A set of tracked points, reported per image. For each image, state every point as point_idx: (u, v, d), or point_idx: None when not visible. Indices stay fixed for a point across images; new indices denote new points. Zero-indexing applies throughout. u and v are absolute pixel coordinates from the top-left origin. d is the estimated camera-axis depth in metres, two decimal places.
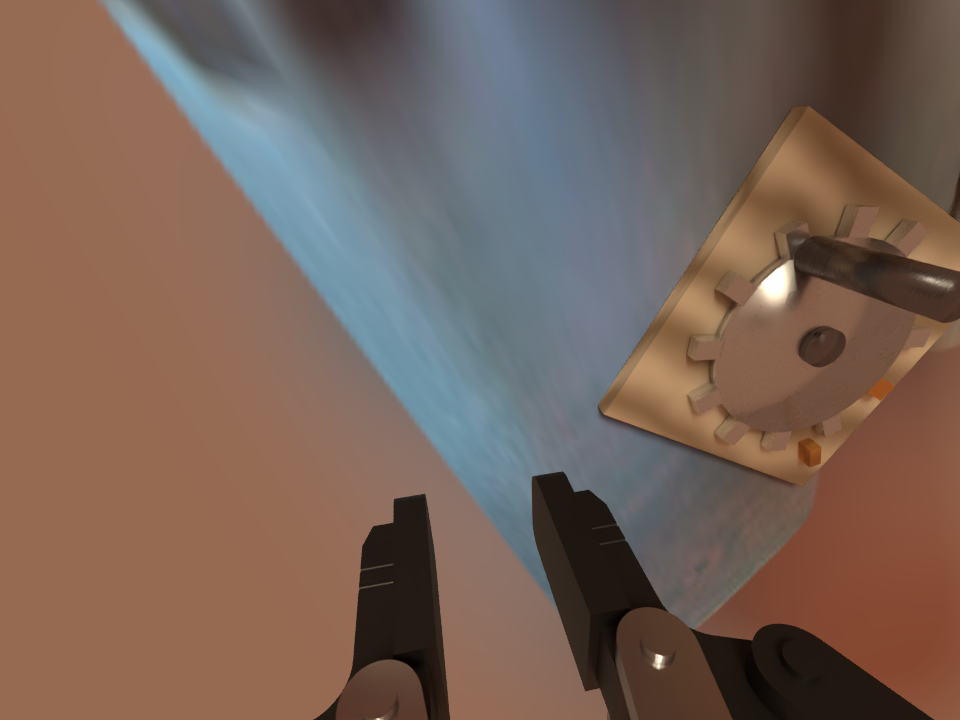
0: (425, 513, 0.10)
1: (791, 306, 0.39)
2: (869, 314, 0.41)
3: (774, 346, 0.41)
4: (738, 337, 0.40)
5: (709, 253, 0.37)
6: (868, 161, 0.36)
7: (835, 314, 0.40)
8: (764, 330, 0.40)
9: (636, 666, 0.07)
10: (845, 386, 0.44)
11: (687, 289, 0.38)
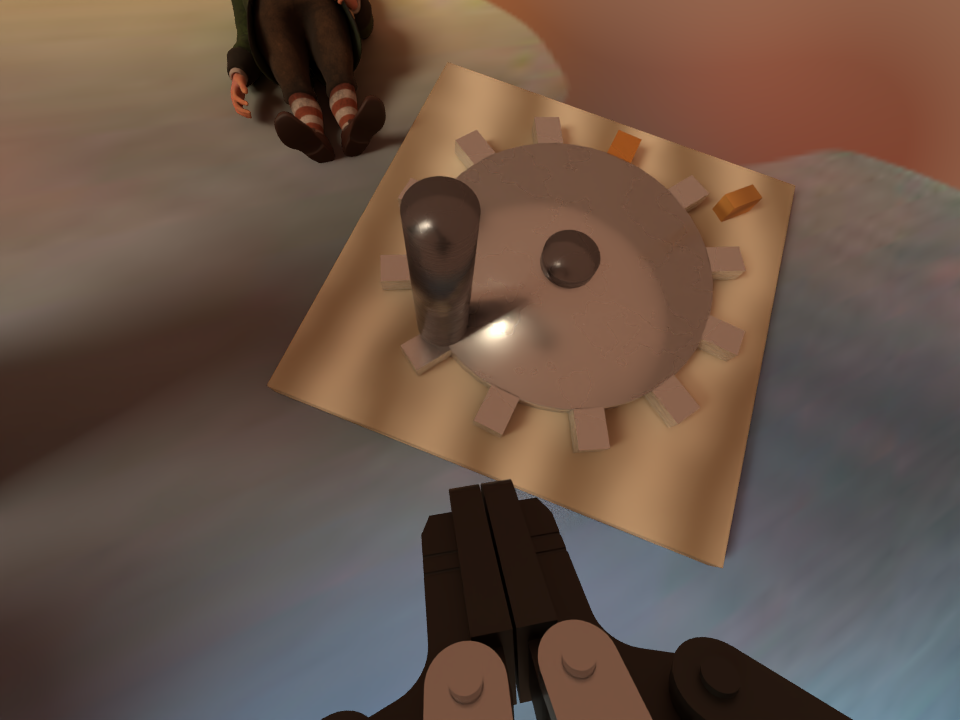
0: (482, 503, 0.10)
1: (515, 323, 0.28)
2: (520, 208, 0.31)
3: (576, 325, 0.28)
4: (567, 387, 0.27)
5: (451, 459, 0.27)
6: (332, 281, 0.30)
7: (523, 254, 0.30)
8: (553, 350, 0.28)
9: (559, 687, 0.07)
10: (626, 197, 0.31)
11: (504, 479, 0.27)
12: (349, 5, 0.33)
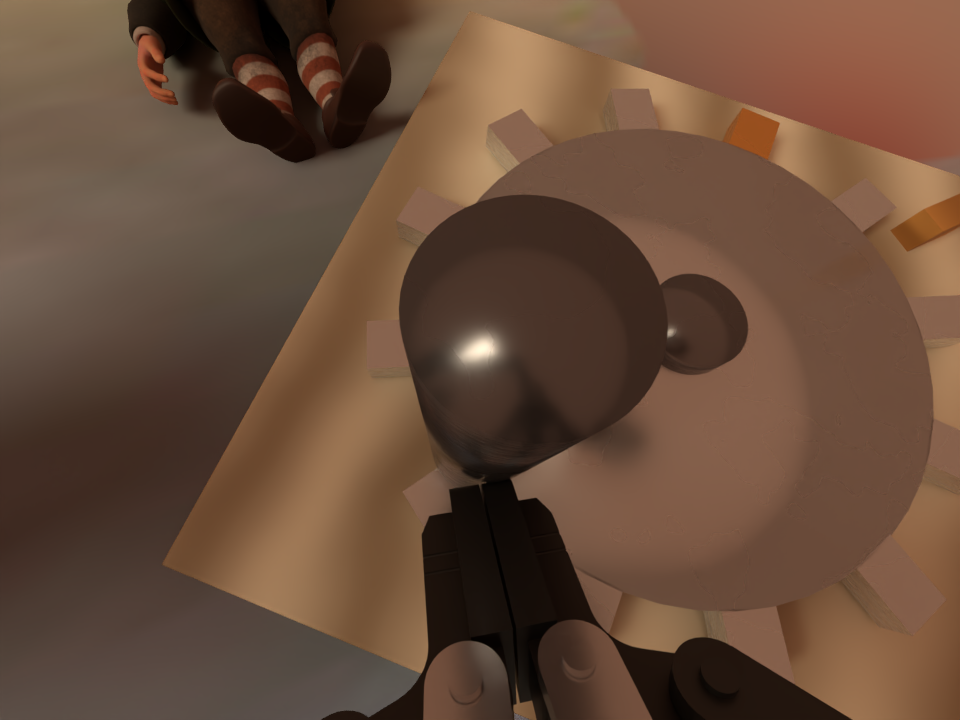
0: (482, 502, 0.10)
1: (605, 442, 0.16)
2: None
3: (710, 443, 0.16)
4: (706, 567, 0.15)
5: None
6: (286, 364, 0.17)
7: None
8: (675, 493, 0.15)
9: (559, 687, 0.07)
10: (767, 215, 0.19)
11: None
12: None
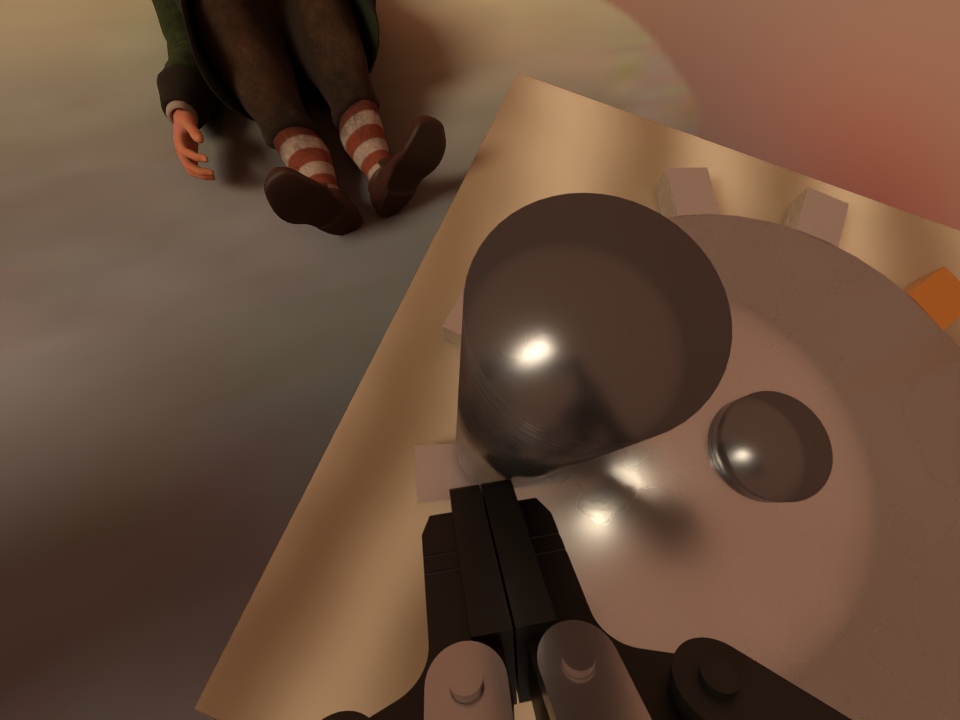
0: (482, 502, 0.10)
1: (619, 508, 0.15)
2: None
3: (724, 570, 0.15)
4: None
5: None
6: (327, 476, 0.16)
7: None
8: (662, 595, 0.14)
9: (558, 687, 0.07)
10: (912, 384, 0.17)
11: None
12: None
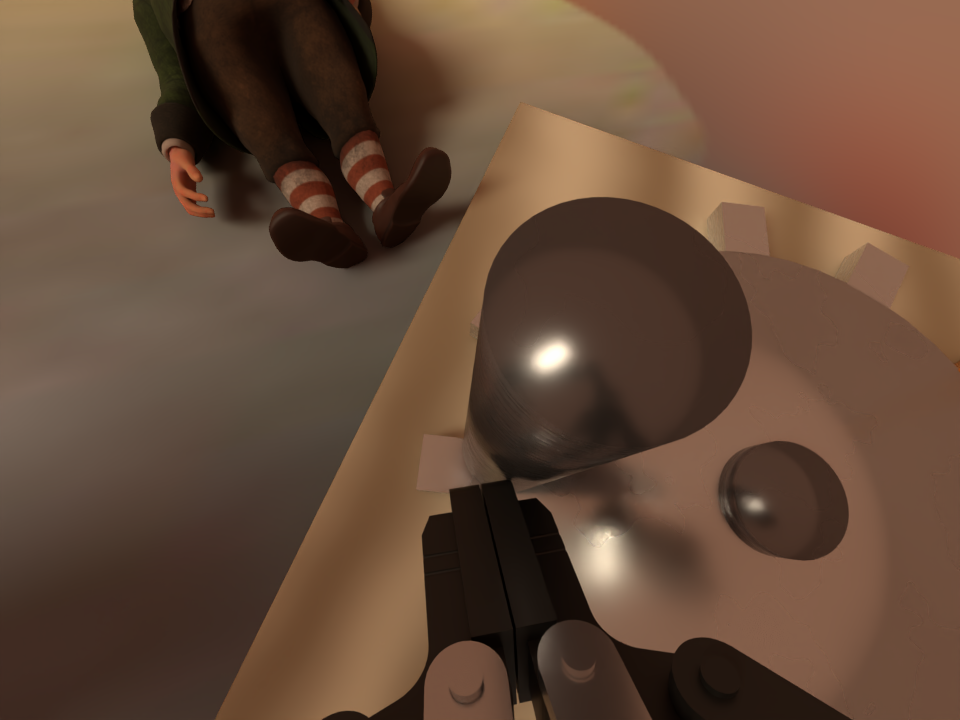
0: (482, 502, 0.10)
1: (616, 533, 0.15)
2: (751, 358, 0.17)
3: (714, 616, 0.14)
4: None
5: None
6: (324, 527, 0.16)
7: (705, 433, 0.16)
8: (645, 629, 0.14)
9: (559, 687, 0.07)
10: (947, 462, 0.16)
11: None
12: None
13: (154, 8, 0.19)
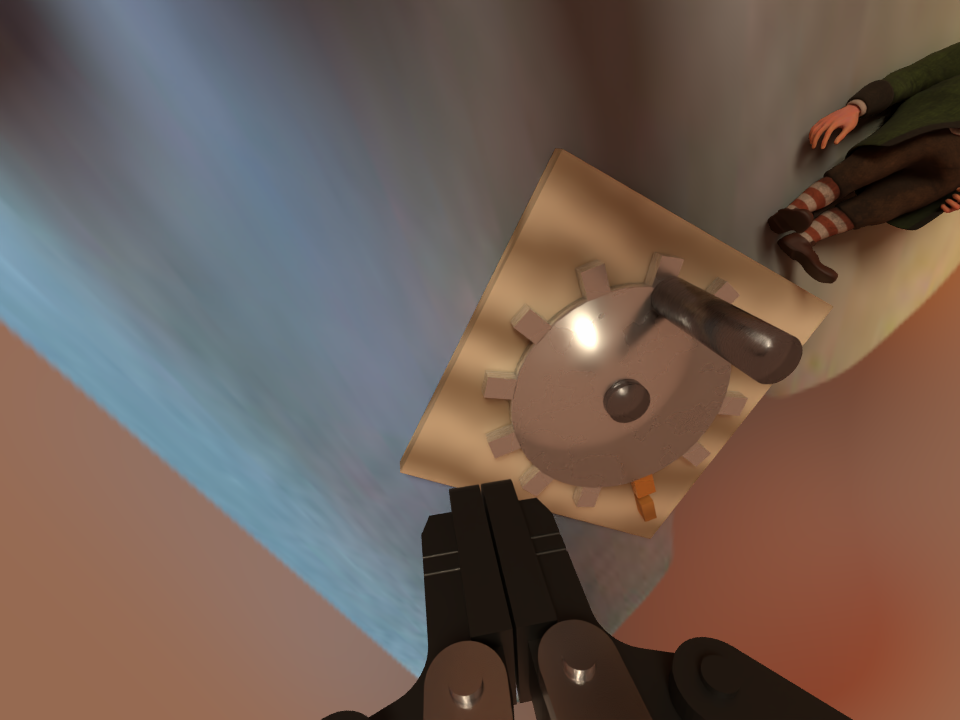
0: (482, 502, 0.10)
1: (625, 338, 0.36)
2: (677, 399, 0.39)
3: (589, 371, 0.37)
4: (565, 334, 0.35)
5: (483, 304, 0.34)
6: (647, 206, 0.33)
7: (653, 377, 0.38)
8: (591, 345, 0.36)
9: (559, 687, 0.07)
10: (620, 462, 0.41)
11: (466, 342, 0.35)
12: None
13: None
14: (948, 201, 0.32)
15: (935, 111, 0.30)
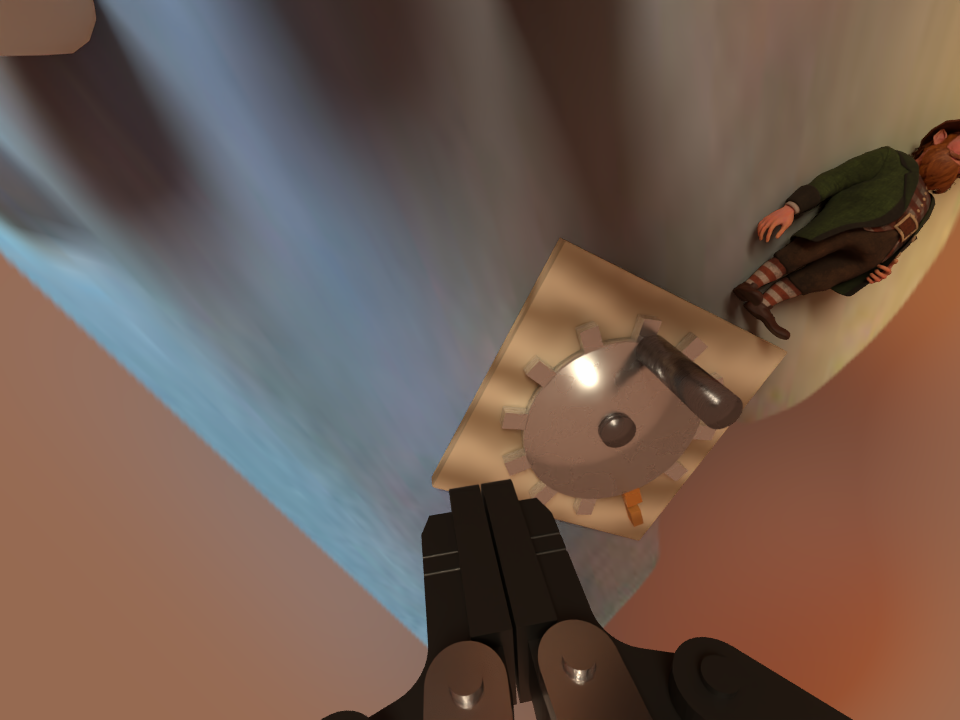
0: (482, 502, 0.10)
1: (616, 381, 0.45)
2: (658, 428, 0.48)
3: (587, 406, 0.45)
4: (567, 379, 0.44)
5: (502, 355, 0.43)
6: (632, 280, 0.42)
7: (639, 411, 0.47)
8: (588, 387, 0.44)
9: (559, 687, 0.07)
10: (613, 478, 0.50)
11: (488, 385, 0.44)
12: (869, 276, 0.42)
13: (870, 192, 0.38)
14: (871, 275, 0.40)
15: (852, 211, 0.39)
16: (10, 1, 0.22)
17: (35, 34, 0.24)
